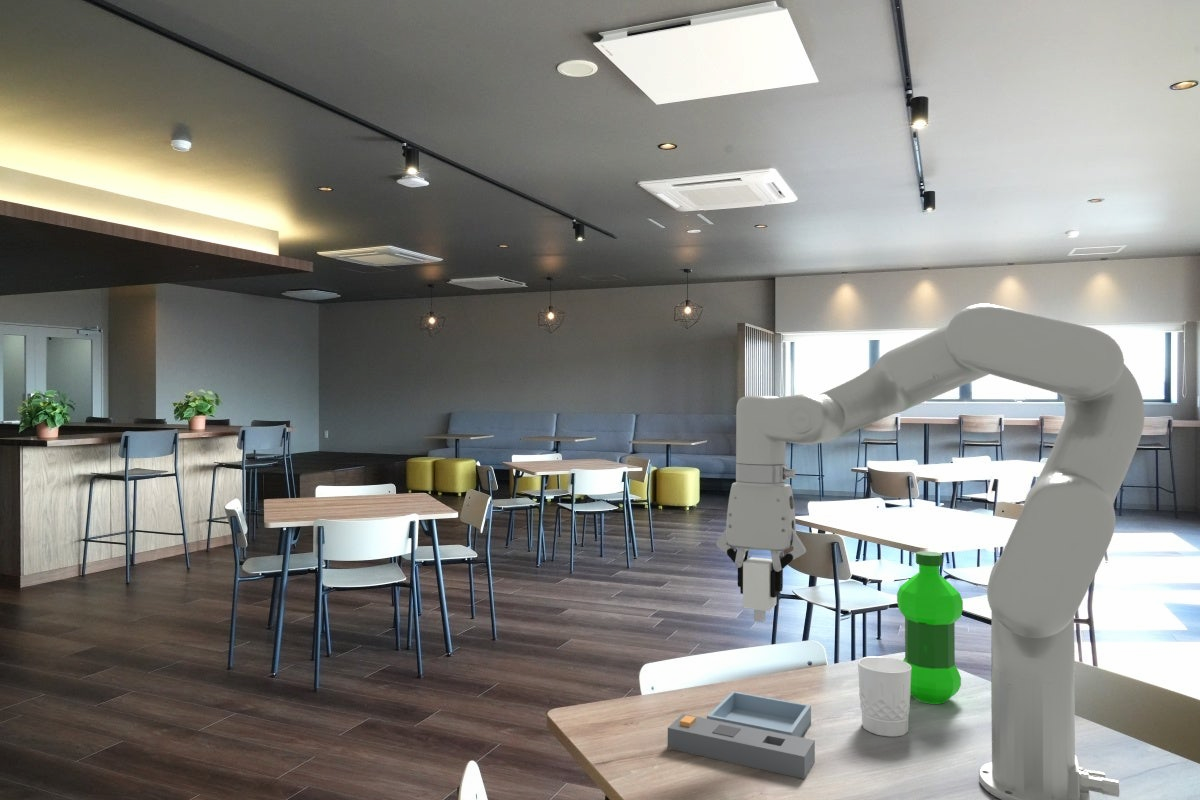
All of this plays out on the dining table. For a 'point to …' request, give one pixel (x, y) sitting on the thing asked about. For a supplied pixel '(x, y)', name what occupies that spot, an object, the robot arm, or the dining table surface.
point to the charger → (757, 587)
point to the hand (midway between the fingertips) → (759, 592)
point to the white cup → (884, 695)
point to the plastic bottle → (930, 630)
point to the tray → (763, 713)
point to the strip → (743, 745)
